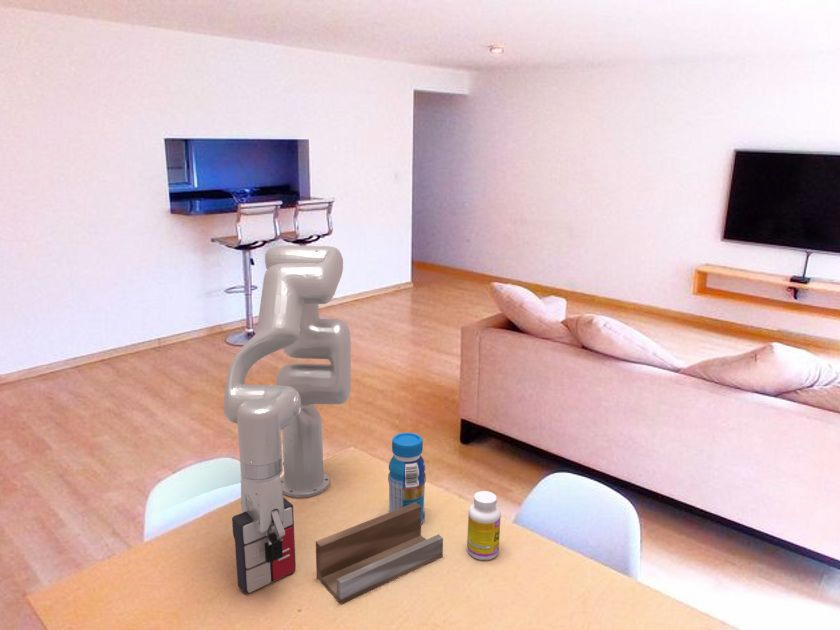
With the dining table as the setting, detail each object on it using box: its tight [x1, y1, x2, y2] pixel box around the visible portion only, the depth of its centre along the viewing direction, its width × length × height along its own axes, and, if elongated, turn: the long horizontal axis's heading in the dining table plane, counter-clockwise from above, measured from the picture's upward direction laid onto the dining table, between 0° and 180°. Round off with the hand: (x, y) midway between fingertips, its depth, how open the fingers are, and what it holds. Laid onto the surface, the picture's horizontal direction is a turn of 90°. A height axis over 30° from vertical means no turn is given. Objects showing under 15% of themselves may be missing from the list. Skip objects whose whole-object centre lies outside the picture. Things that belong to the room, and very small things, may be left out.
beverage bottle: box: [387, 432, 427, 524], centre depth 141 cm, size 8×8×20 cm
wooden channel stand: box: [315, 502, 444, 605], centre depth 126 cm, size 10×24×8 cm, turn 127°
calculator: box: [231, 496, 297, 595], centre depth 121 cm, size 11×4×15 cm, turn 131°
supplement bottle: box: [466, 490, 502, 561], centre depth 131 cm, size 7×7×13 cm
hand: (266, 549), depth 121 cm, fingers open, 6 cm apart
